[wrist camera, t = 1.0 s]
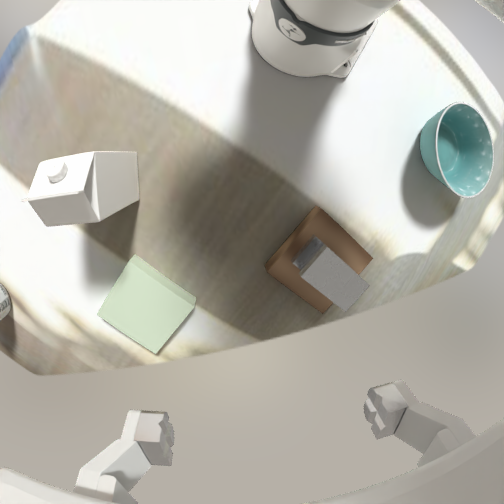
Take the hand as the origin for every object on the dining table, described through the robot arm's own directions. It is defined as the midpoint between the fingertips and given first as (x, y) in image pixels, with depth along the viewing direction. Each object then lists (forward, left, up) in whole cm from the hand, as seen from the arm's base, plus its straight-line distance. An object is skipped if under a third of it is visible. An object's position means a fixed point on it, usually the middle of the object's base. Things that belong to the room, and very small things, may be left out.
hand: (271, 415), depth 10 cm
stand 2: (-3, +14, -34) cm, 37 cm away
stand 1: (+20, -3, -34) cm, 40 cm away
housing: (-3, +14, -31) cm, 34 cm away
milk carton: (+6, -18, -35) cm, 39 cm away
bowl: (-33, +19, -35) cm, 52 cm away
